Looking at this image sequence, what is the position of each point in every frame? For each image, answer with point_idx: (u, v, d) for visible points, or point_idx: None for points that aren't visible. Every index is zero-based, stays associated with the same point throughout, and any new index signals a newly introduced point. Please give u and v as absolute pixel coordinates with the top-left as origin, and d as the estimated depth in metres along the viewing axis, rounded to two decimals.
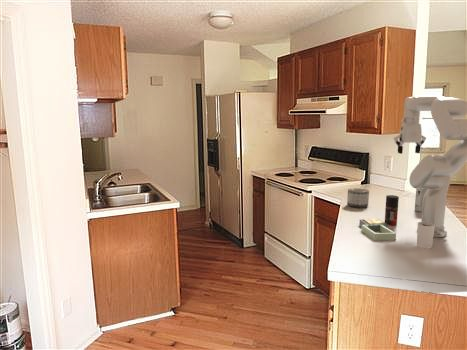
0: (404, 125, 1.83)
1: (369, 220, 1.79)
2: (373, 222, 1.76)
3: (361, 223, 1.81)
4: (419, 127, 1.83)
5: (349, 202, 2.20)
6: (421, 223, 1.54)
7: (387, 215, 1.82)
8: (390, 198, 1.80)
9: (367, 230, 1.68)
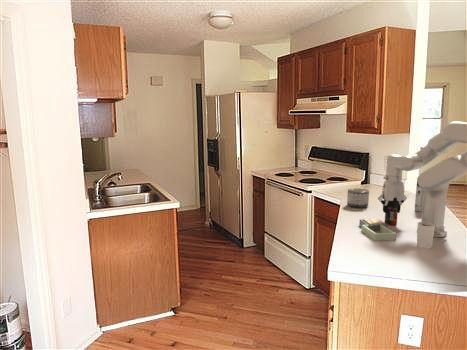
0: (386, 183, 1.79)
1: (369, 220, 1.79)
2: (373, 222, 1.76)
3: (361, 223, 1.81)
4: (401, 186, 1.79)
5: (349, 202, 2.20)
6: (421, 223, 1.54)
7: (387, 215, 1.82)
8: None
9: (367, 230, 1.68)
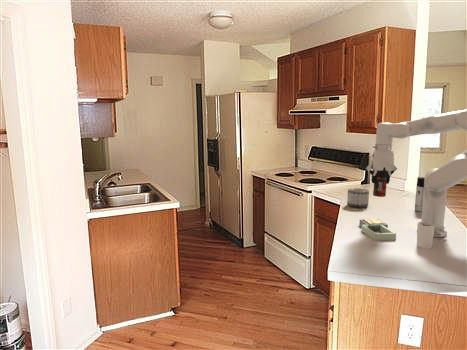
0: (375, 152, 1.73)
1: (369, 220, 1.79)
2: (373, 222, 1.76)
3: (361, 223, 1.81)
4: (391, 155, 1.72)
5: (349, 202, 2.20)
6: (421, 223, 1.54)
7: (375, 186, 1.76)
8: None
9: (367, 230, 1.68)
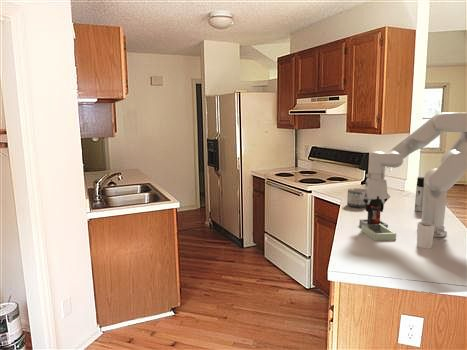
0: (368, 181, 1.73)
1: None
2: None
3: (361, 223, 1.81)
4: (384, 184, 1.73)
5: (349, 202, 2.20)
6: (421, 223, 1.54)
7: (370, 214, 1.76)
8: None
9: (367, 230, 1.68)
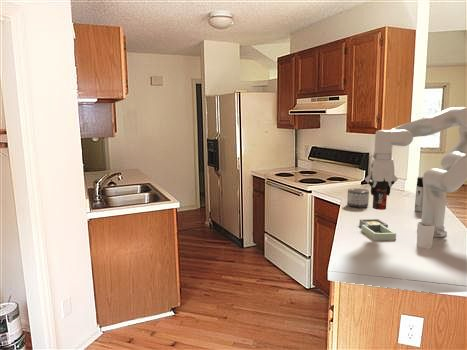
0: (374, 162, 1.60)
1: (369, 222, 1.80)
2: (373, 224, 1.76)
3: (361, 223, 1.81)
4: (391, 165, 1.60)
5: (349, 202, 2.20)
6: (421, 223, 1.54)
7: (375, 198, 1.63)
8: None
9: (367, 230, 1.68)
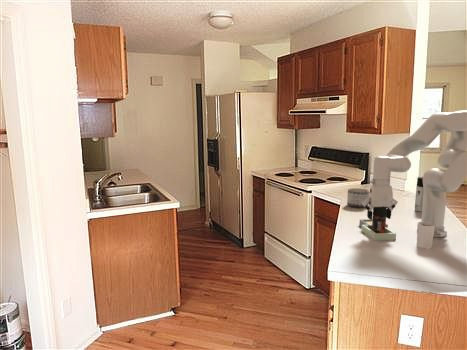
0: (373, 188, 1.62)
1: (369, 222, 1.80)
2: None
3: (361, 223, 1.81)
4: (390, 190, 1.62)
5: (349, 202, 2.20)
6: (421, 223, 1.54)
7: (374, 225, 1.66)
8: None
9: (367, 230, 1.68)
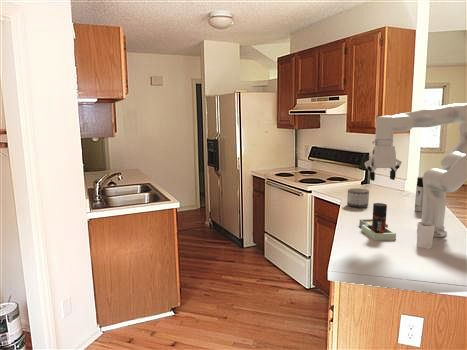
0: (376, 148, 1.59)
1: (369, 222, 1.80)
2: None
3: (361, 223, 1.81)
4: (393, 151, 1.59)
5: (349, 202, 2.20)
6: (421, 223, 1.54)
7: (374, 225, 1.66)
8: (377, 206, 1.63)
9: (367, 230, 1.68)
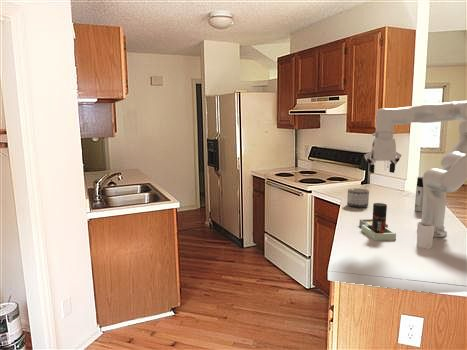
0: (376, 141, 1.59)
1: (369, 222, 1.80)
2: None
3: (361, 223, 1.81)
4: (393, 143, 1.58)
5: (349, 202, 2.20)
6: (421, 223, 1.54)
7: (374, 225, 1.66)
8: (377, 206, 1.63)
9: (367, 230, 1.68)
